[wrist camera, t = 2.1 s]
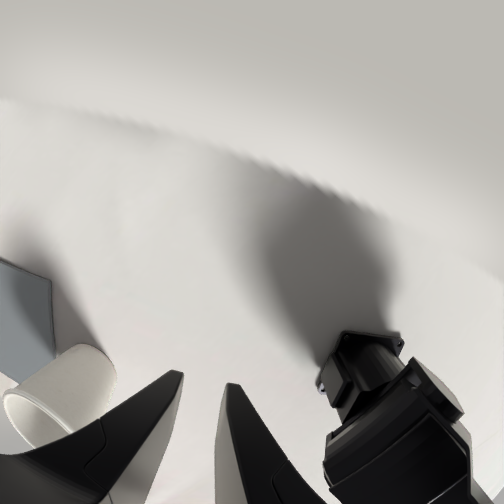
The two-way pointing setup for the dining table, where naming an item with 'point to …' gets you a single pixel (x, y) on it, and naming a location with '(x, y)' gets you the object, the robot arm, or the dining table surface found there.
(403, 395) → the robot arm
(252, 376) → the dining table surface
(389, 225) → the dining table surface
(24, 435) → the dixie cup
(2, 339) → the mat
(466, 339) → the dining table surface
